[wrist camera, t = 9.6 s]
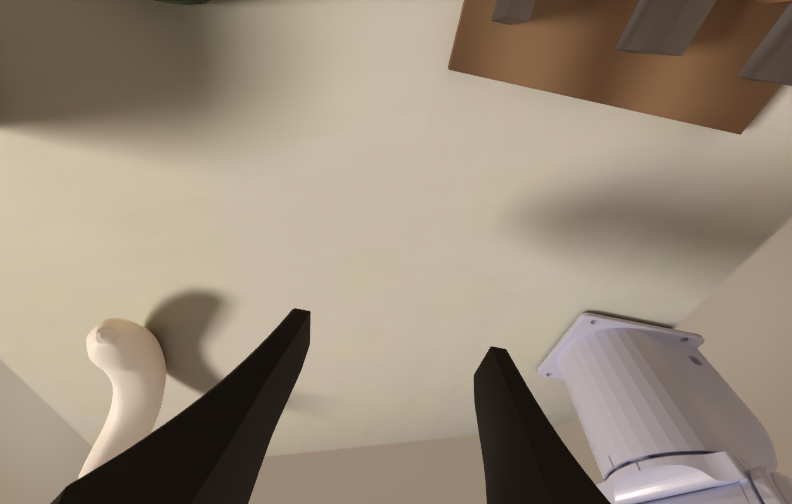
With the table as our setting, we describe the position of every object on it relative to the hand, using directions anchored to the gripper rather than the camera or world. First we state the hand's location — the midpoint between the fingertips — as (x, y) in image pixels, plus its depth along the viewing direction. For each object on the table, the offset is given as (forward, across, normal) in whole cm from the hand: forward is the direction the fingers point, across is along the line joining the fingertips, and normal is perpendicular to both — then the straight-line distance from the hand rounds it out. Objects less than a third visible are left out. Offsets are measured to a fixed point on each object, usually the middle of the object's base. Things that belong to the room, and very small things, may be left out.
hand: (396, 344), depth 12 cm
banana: (+10, +22, +20) cm, 31 cm away
